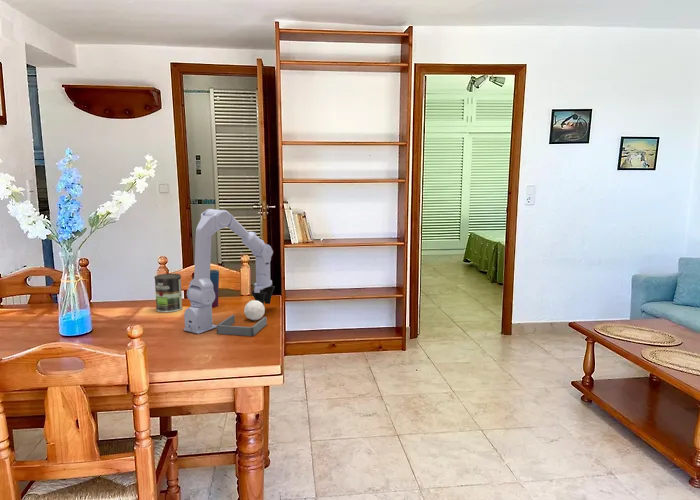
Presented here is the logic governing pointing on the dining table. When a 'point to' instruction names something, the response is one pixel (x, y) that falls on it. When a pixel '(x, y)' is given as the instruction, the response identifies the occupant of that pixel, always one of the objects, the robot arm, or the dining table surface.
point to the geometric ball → (254, 310)
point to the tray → (239, 327)
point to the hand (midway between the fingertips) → (263, 306)
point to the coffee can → (168, 292)
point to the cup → (215, 285)
